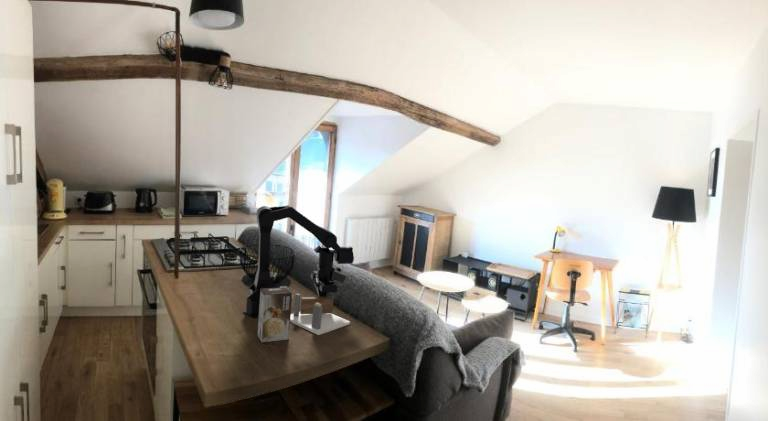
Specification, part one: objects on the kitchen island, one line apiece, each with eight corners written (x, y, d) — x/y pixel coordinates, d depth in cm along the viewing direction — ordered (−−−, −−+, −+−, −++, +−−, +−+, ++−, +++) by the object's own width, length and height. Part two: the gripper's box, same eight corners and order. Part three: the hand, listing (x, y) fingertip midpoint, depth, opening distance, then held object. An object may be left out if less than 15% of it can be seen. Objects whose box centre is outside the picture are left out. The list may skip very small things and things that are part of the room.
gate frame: (318, 335, 156) (321, 307, 155) (283, 318, 167) (286, 292, 165) (349, 324, 169) (352, 298, 167) (315, 309, 179) (318, 285, 178)
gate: (332, 313, 173) (333, 298, 172) (300, 314, 168) (302, 298, 168) (330, 311, 175) (332, 296, 174) (299, 312, 170) (301, 297, 169)
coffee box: (284, 332, 156) (287, 286, 153) (289, 340, 150) (293, 293, 148) (256, 334, 151) (260, 288, 149) (260, 342, 146) (264, 294, 143)
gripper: (353, 270, 170) (349, 310, 172) (338, 257, 187) (335, 294, 189) (324, 270, 166) (320, 311, 168) (312, 257, 183) (308, 294, 185)
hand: (321, 302), depth 178 cm, fingers closed
